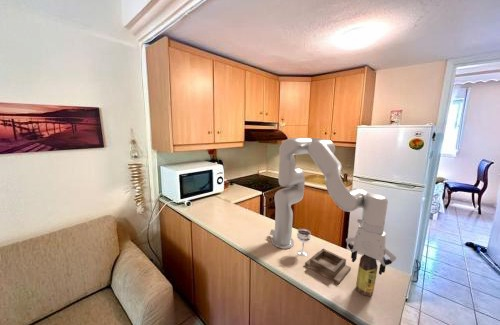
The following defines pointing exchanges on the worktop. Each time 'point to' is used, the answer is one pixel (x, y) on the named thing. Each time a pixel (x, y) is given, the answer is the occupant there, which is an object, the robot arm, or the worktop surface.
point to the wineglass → (303, 239)
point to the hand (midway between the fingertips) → (366, 266)
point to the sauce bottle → (366, 275)
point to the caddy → (329, 265)
